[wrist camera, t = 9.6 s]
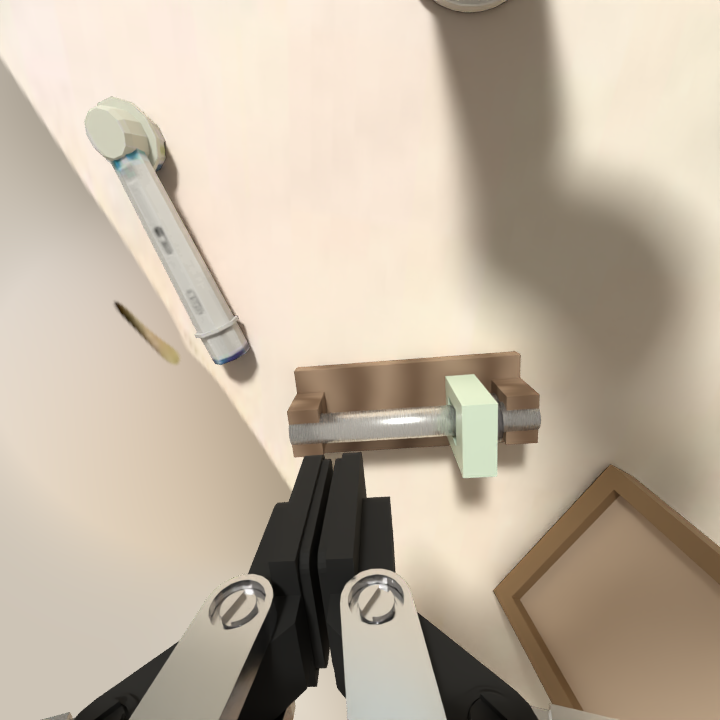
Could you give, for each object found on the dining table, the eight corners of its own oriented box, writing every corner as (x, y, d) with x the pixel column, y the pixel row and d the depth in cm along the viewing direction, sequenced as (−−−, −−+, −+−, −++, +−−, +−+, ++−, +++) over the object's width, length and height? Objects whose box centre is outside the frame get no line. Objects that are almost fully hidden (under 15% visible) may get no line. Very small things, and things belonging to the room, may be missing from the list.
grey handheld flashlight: (203, 371, 39) (45, 101, 30) (224, 348, 45) (98, 117, 36) (249, 355, 38) (101, 73, 29) (264, 333, 45) (146, 94, 35)
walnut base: (308, 447, 45) (297, 478, 39) (296, 367, 42) (283, 387, 36) (513, 435, 44) (536, 465, 37) (515, 351, 41) (540, 369, 35)
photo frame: (491, 583, 50) (604, 897, 26) (605, 459, 44) (886, 710, 20) (579, 631, 51) (762, 965, 27) (699, 517, 46) (1059, 811, 22)
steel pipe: (300, 440, 42) (290, 463, 37) (294, 399, 40) (283, 418, 36) (524, 426, 40) (543, 449, 35) (525, 383, 39) (546, 401, 34)
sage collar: (446, 436, 42) (463, 478, 34) (445, 376, 40) (461, 405, 32) (474, 434, 41) (497, 476, 34) (474, 374, 40) (497, 403, 32)
